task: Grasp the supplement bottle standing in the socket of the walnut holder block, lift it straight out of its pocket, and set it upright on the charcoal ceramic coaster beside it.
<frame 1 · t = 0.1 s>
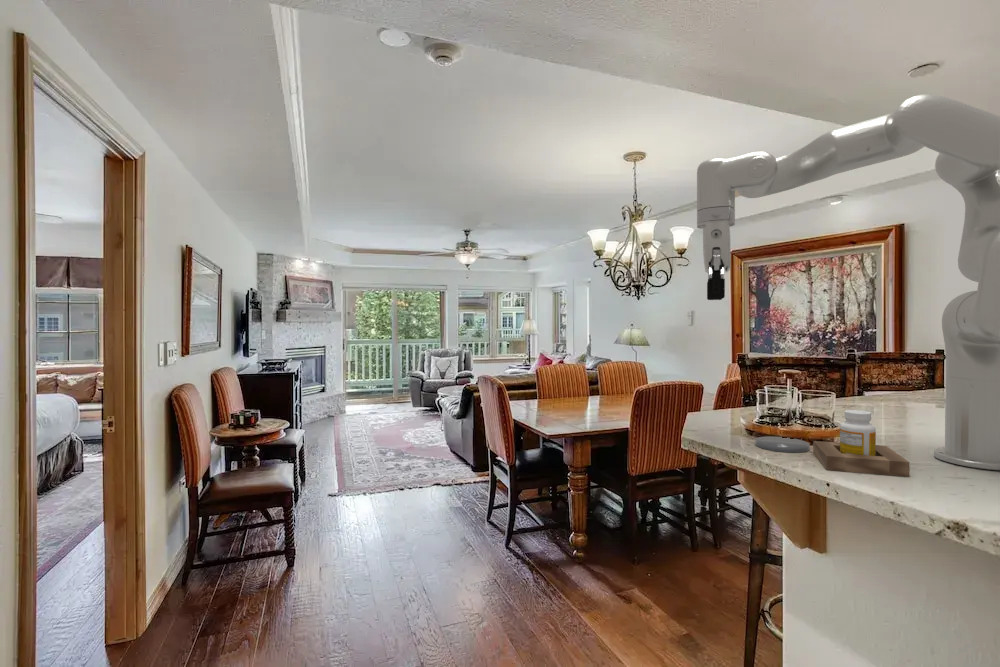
hand: (715, 299, 111), 31 cm above the worktop, tool pointing down, fingers open, 9 cm apart
supplement bottle: (857, 465, 95), resting in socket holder
coaster: (781, 446, 108), on the worktop
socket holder: (857, 464, 95), on the worktop
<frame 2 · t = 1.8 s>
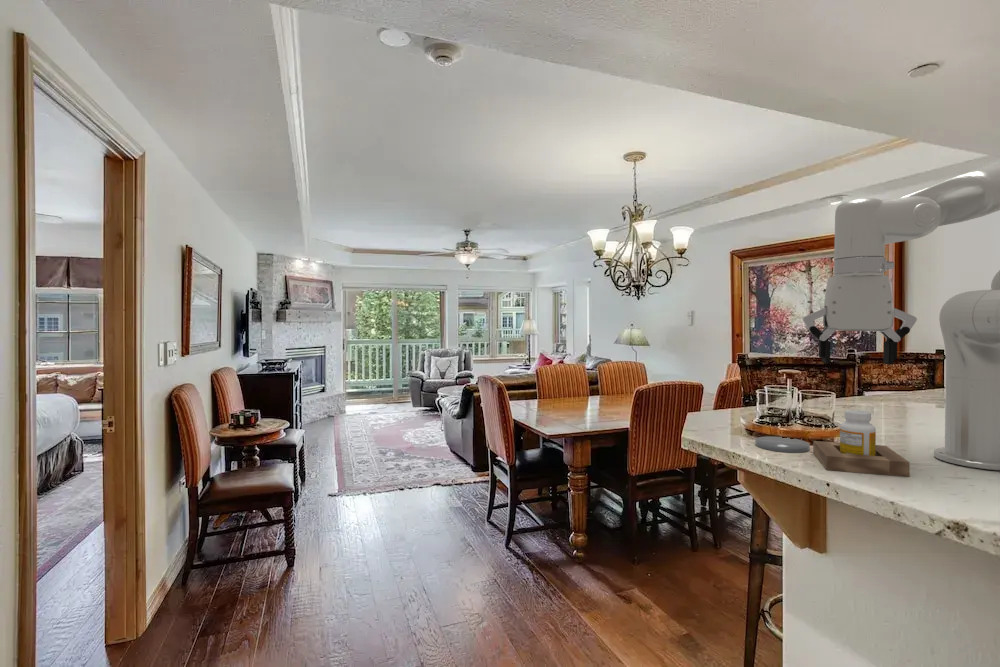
hand: (856, 363, 94), 19 cm above the worktop, tool pointing down, fingers open, 9 cm apart
nothing on the worktop moved.
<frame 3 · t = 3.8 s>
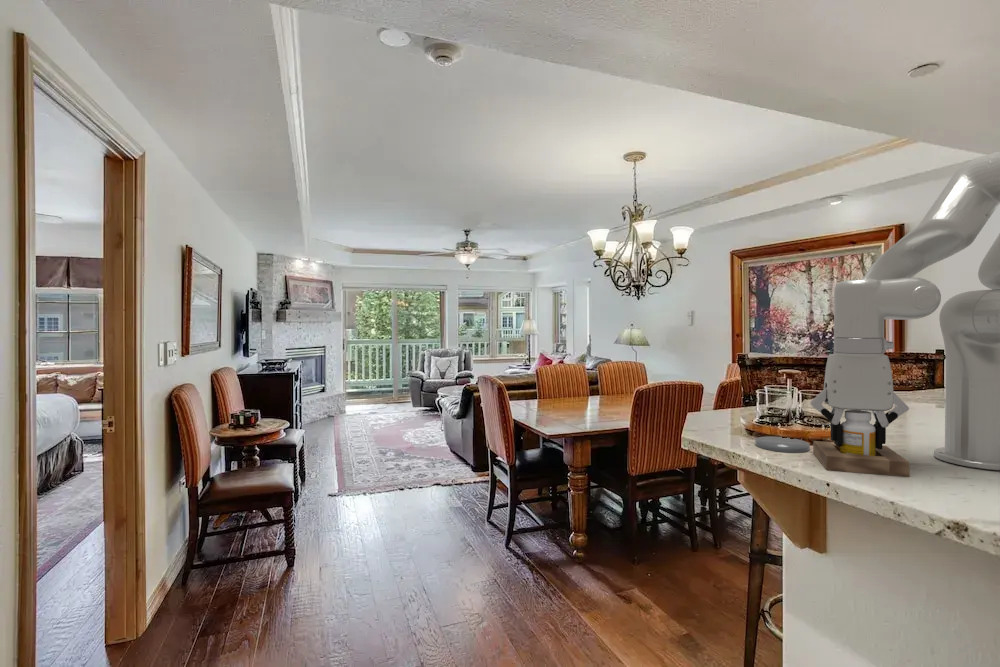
hand: (857, 445, 95), 4 cm above the worktop, tool pointing down, fingers closed on supplement bottle, 5 cm apart
supplement bottle: (857, 465, 95), resting in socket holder, touching gripper
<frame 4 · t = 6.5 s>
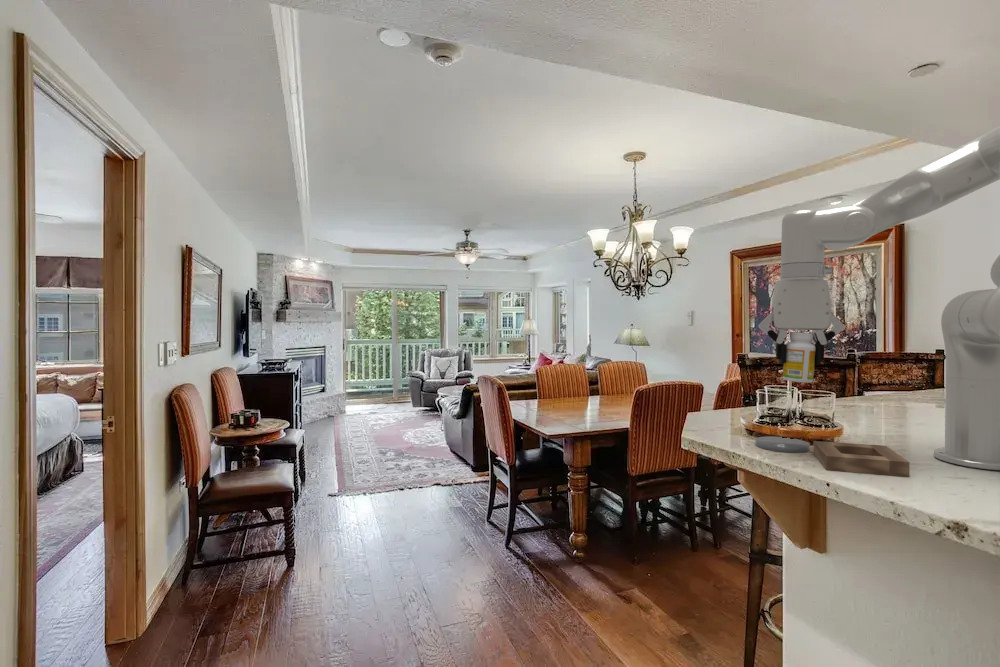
hand: (799, 362, 104), 18 cm above the worktop, tool pointing down, fingers closed on supplement bottle, 5 cm apart
supplement bottle: (797, 381, 104), point 14 cm above the worktop, touching gripper
when the fingers open (6 cm above the worktop, at t = 9.4 s): supplement bottle drops 1 cm, resting on coaster.
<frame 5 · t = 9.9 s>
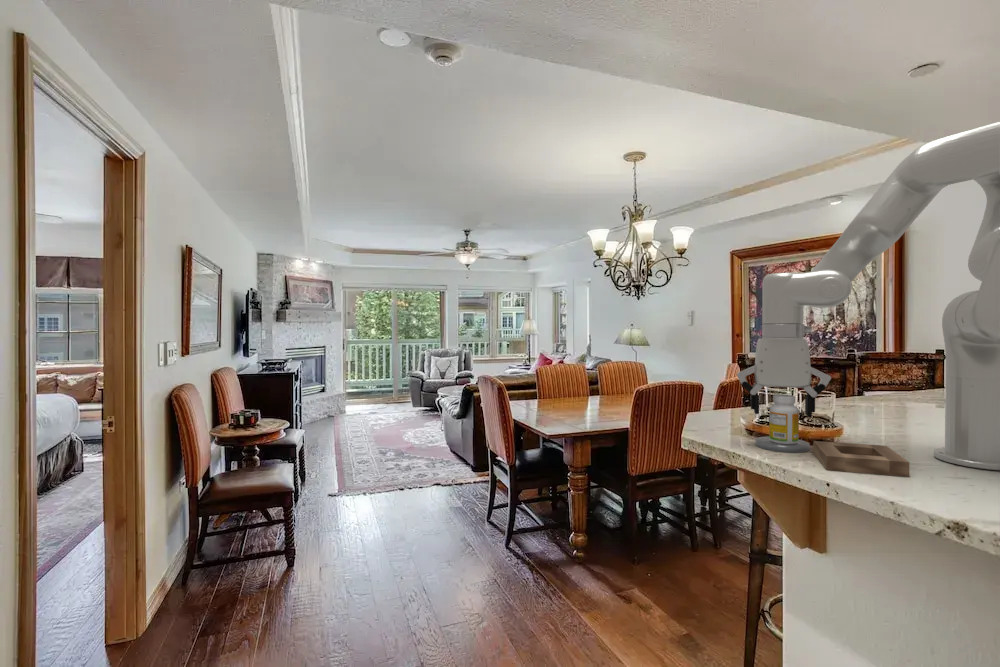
hand: (782, 414, 108), 7 cm above the worktop, tool pointing down, fingers open, 9 cm apart
supplement bottle: (783, 442, 108), point 1 cm above the worktop, touching coaster
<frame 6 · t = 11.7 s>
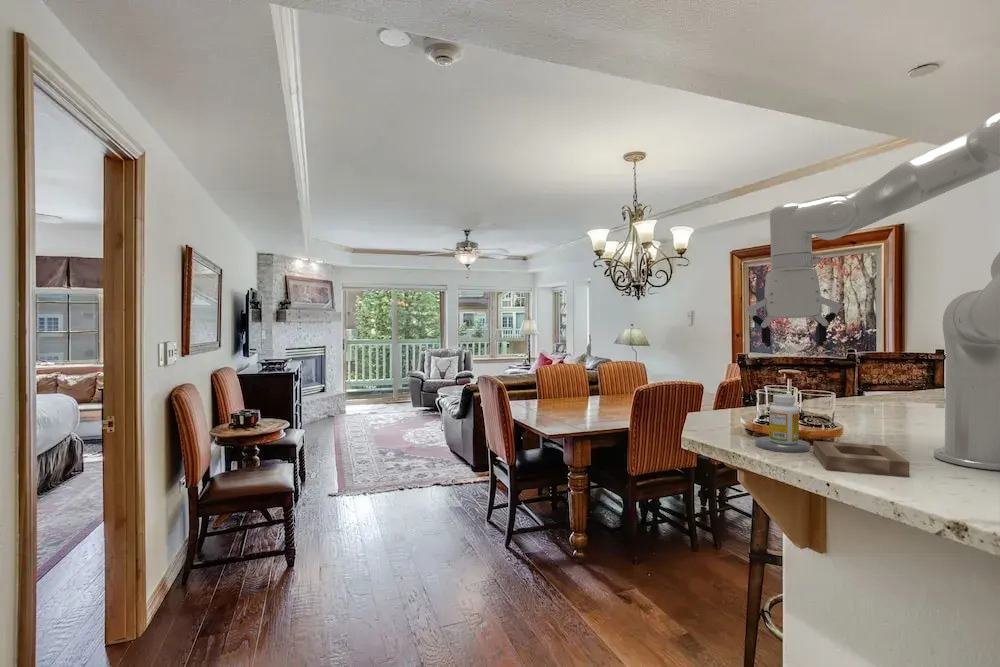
hand: (793, 346, 108), 21 cm above the worktop, tool pointing down, fingers open, 9 cm apart
nothing on the worktop moved.
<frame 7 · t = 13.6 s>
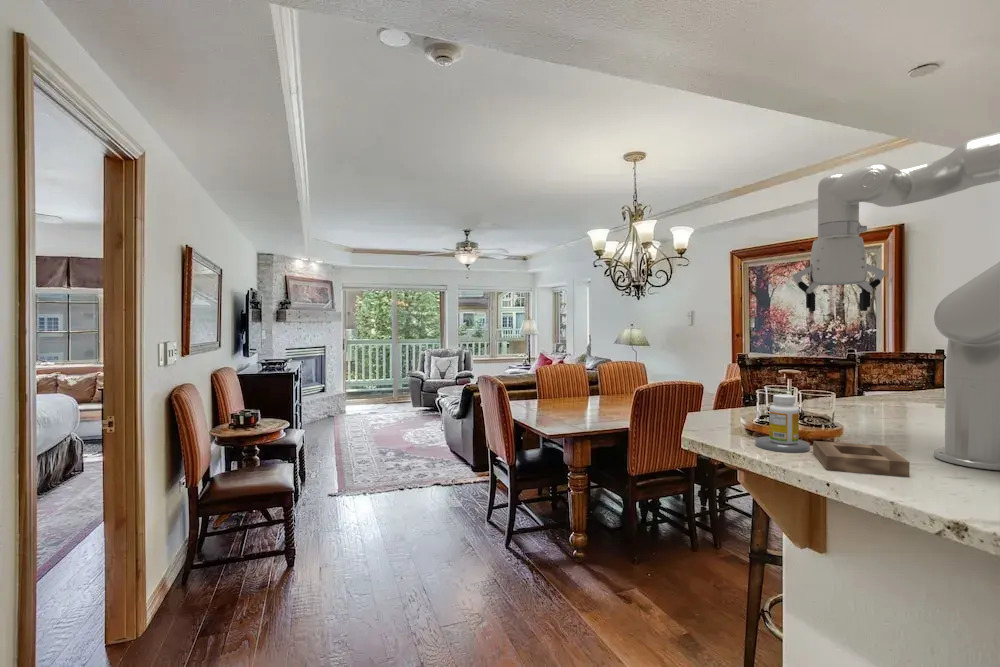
hand: (837, 311, 113), 28 cm above the worktop, tool pointing down, fingers open, 9 cm apart
nothing on the worktop moved.
at the end: supplement bottle 0.3 cm off-centre on the coaster, point 0.8 cm above the coaster's base; supplement bottle tilted 0°; the gripper is holding nothing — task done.
